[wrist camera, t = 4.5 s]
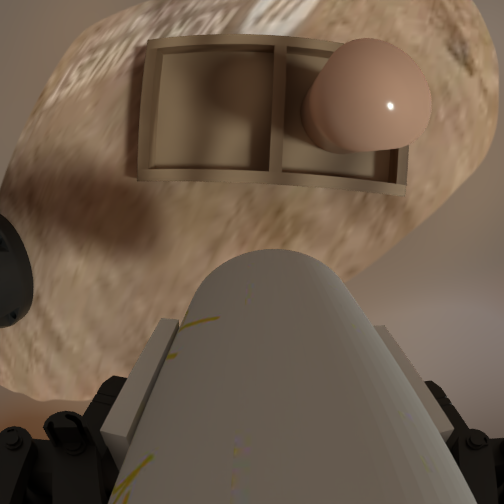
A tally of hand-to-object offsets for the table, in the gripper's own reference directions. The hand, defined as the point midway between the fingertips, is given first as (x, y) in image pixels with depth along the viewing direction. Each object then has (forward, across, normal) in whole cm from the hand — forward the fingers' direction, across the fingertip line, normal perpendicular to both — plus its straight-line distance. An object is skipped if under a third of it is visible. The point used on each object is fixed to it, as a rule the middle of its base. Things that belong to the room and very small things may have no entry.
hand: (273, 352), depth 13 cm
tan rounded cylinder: (+16, +6, +13) cm, 21 cm away
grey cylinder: (+2, 0, 0) cm, 2 cm away
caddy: (+16, 0, +13) cm, 21 cm away
